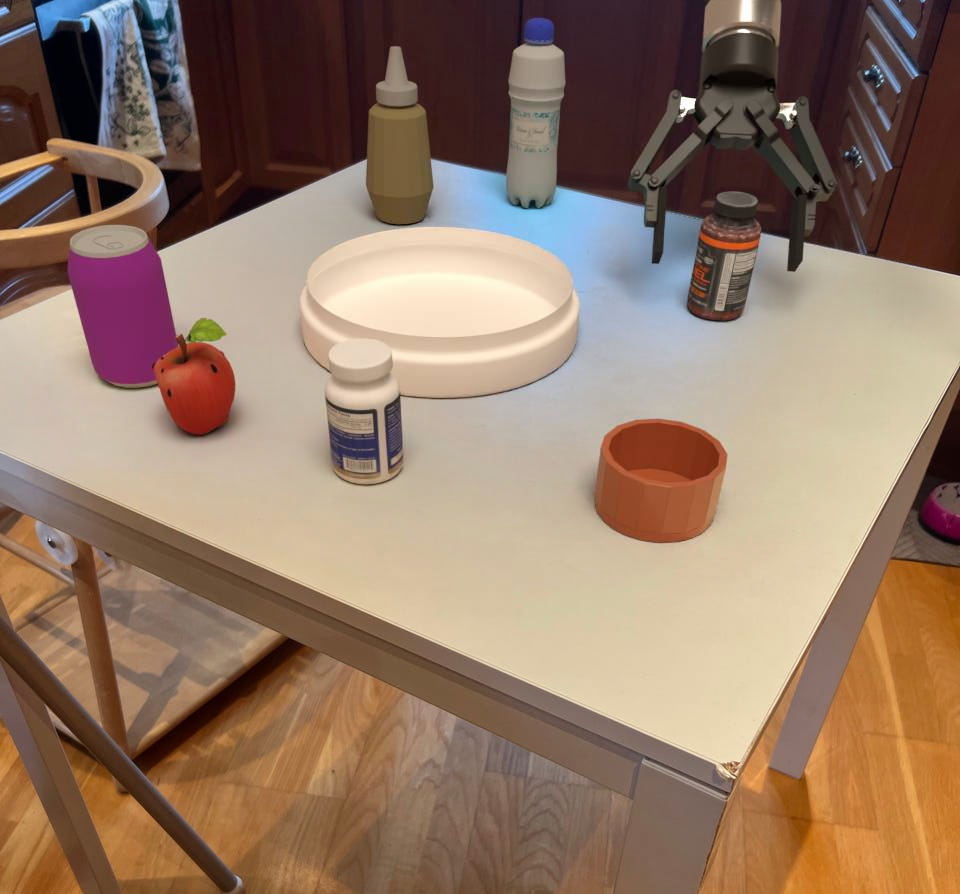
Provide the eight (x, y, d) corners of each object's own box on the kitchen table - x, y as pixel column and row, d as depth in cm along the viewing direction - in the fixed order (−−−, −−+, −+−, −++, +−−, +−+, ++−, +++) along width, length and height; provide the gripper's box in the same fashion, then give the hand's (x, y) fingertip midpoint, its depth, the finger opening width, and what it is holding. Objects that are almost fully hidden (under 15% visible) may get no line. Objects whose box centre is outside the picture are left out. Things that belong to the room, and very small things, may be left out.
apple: (146, 442, 80) (118, 327, 73) (180, 401, 85) (156, 290, 78) (235, 453, 79) (215, 337, 72) (264, 411, 84) (248, 299, 77)
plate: (470, 256, 110) (471, 206, 106) (633, 348, 94) (641, 294, 90) (254, 313, 98) (246, 259, 94) (400, 430, 82) (398, 371, 78)
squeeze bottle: (443, 225, 116) (443, 54, 104) (378, 232, 114) (370, 58, 102) (421, 202, 122) (418, 37, 109) (359, 209, 119) (349, 41, 107)
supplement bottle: (675, 302, 102) (694, 190, 94) (724, 295, 104) (746, 184, 96) (704, 326, 98) (726, 211, 90) (754, 318, 100) (780, 204, 92)
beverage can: (199, 373, 88) (174, 240, 80) (123, 401, 84) (88, 264, 76) (155, 344, 92) (126, 214, 84) (80, 369, 88) (42, 236, 80)
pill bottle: (378, 440, 81) (372, 327, 74) (417, 471, 78) (414, 356, 71) (318, 462, 78) (306, 347, 71) (356, 495, 75) (347, 378, 68)
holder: (718, 483, 78) (730, 428, 74) (709, 551, 71) (722, 495, 68) (604, 465, 79) (611, 411, 76) (585, 531, 72) (592, 474, 69)
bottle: (497, 207, 121) (503, 21, 107) (511, 190, 126) (519, 9, 112) (549, 214, 120) (562, 26, 106) (561, 196, 124) (576, 14, 111)
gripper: (852, 82, 100) (839, 284, 99) (611, 70, 101) (596, 270, 100) (879, 34, 93) (866, 252, 92) (618, 21, 94) (603, 238, 93)
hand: (725, 262), depth 96 cm, fingers open, 13 cm apart
